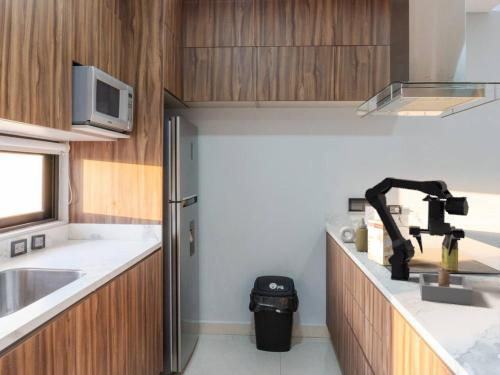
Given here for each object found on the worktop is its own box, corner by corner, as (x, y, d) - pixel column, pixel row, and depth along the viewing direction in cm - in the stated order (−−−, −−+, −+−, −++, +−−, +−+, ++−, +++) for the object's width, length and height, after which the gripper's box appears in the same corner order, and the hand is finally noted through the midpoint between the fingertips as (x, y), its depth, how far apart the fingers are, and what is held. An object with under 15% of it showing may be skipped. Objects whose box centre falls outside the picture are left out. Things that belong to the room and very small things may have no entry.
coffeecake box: (396, 265, 178) (396, 223, 177) (382, 265, 177) (382, 223, 176) (380, 258, 193) (380, 219, 192) (367, 258, 191) (367, 219, 191)
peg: (438, 295, 133) (439, 273, 133) (437, 293, 137) (438, 270, 136) (450, 297, 132) (450, 274, 132) (448, 294, 135) (449, 271, 135)
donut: (355, 242, 236) (355, 226, 235) (355, 243, 233) (355, 226, 232) (339, 241, 238) (339, 225, 238) (339, 242, 235) (338, 226, 235)
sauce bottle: (443, 269, 169) (444, 224, 168) (459, 271, 165) (460, 225, 164) (439, 272, 164) (440, 226, 163) (456, 274, 160) (456, 227, 159)
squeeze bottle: (354, 251, 208) (354, 218, 207) (355, 249, 216) (355, 217, 215) (369, 252, 205) (369, 219, 204) (370, 249, 213) (370, 217, 212)
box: (421, 300, 129) (421, 285, 129) (419, 286, 145) (419, 272, 145) (472, 305, 124) (472, 290, 124) (464, 290, 140) (464, 276, 139)
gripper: (409, 214, 141) (408, 256, 142) (467, 217, 134) (465, 261, 135) (409, 211, 152) (408, 250, 152) (463, 213, 144) (462, 255, 145)
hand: (435, 254), depth 146 cm, fingers open, 9 cm apart
